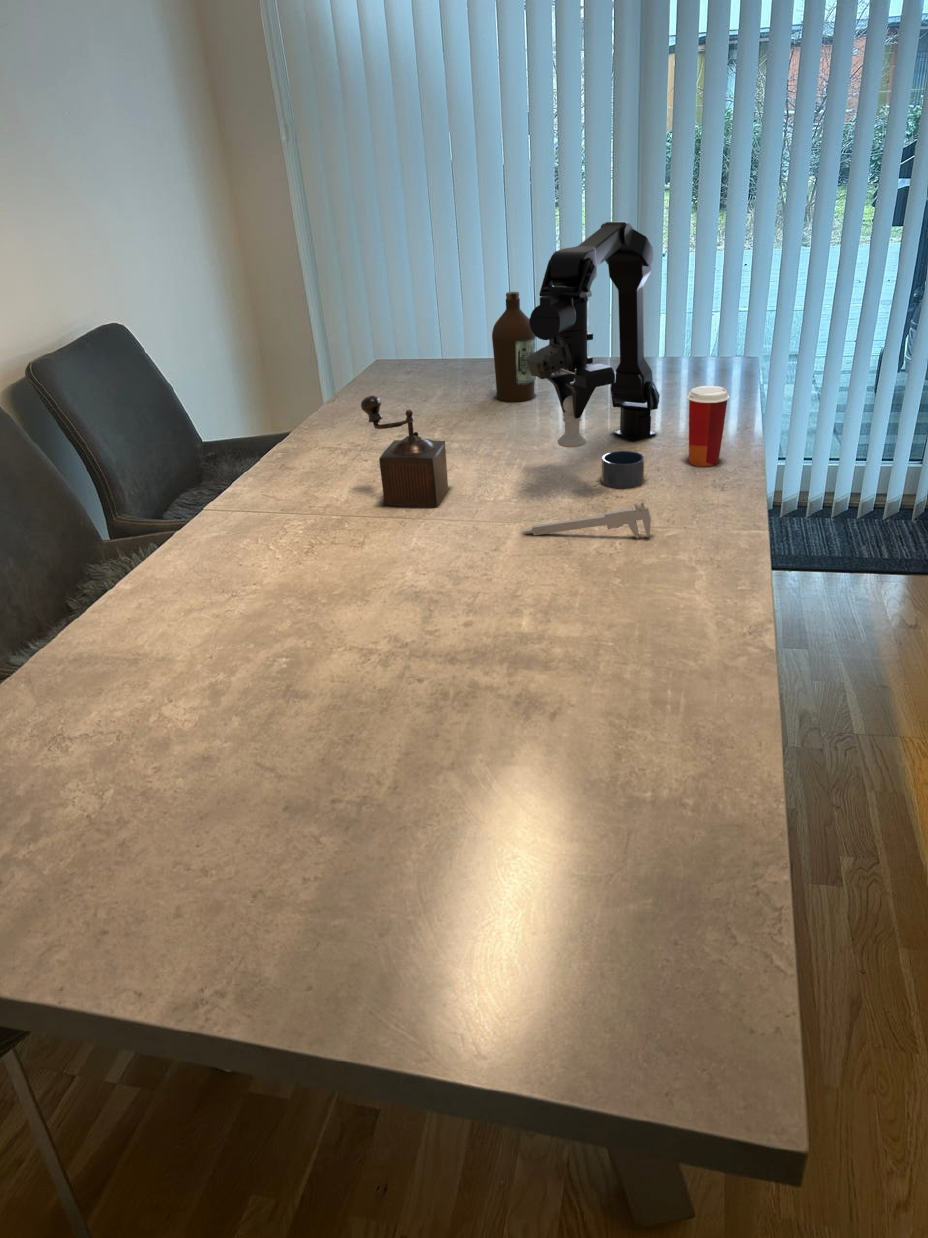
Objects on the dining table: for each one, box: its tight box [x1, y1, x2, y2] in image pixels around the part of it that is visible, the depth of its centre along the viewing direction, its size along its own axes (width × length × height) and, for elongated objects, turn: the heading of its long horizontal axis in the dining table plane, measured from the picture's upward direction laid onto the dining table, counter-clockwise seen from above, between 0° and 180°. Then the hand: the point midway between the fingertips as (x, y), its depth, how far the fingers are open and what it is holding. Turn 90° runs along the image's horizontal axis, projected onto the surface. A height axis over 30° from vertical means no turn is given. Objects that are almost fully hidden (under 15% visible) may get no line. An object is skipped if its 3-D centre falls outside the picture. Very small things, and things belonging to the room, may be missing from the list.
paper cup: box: [686, 385, 730, 467], centre depth 171 cm, size 8×8×14 cm
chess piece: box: [557, 396, 587, 449], centre depth 163 cm, size 5×5×9 cm
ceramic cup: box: [600, 450, 646, 489], centre depth 166 cm, size 8×8×5 cm
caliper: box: [524, 500, 652, 539], centre depth 145 cm, size 20×1×6 cm, turn 78°
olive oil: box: [491, 291, 537, 403], centre depth 218 cm, size 11×11×25 cm
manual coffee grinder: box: [360, 395, 450, 508], centre depth 163 cm, size 16×11×18 cm
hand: (571, 415), depth 163 cm, fingers closed on chess piece, 3 cm apart
